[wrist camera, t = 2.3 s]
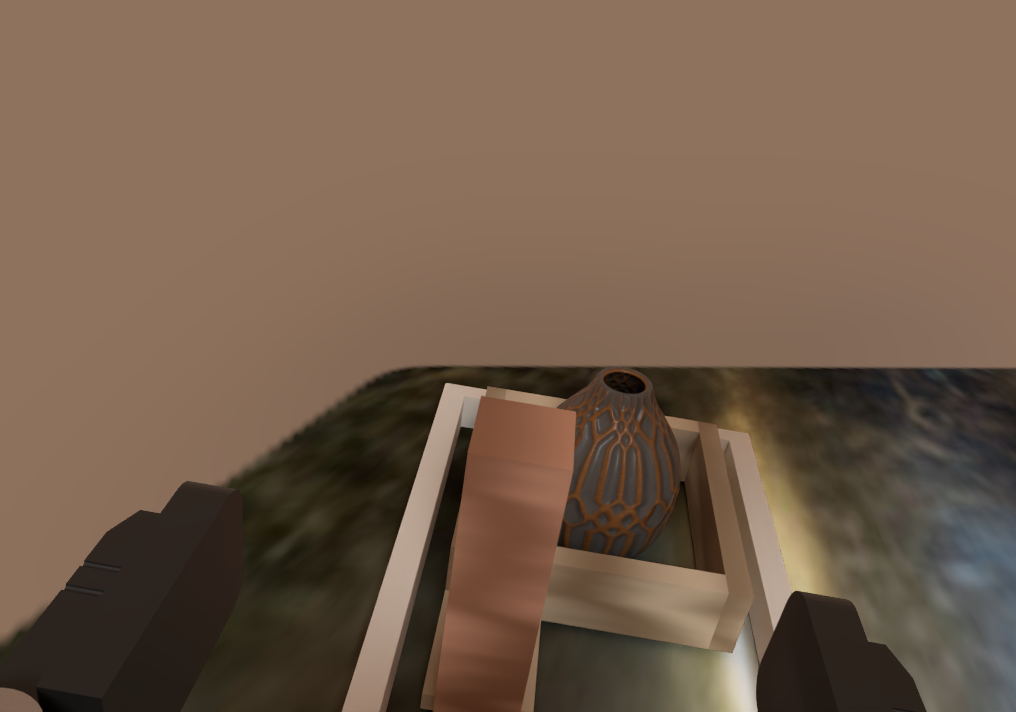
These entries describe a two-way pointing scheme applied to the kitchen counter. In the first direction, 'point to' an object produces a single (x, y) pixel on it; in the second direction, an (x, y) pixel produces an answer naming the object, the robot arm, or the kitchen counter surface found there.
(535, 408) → the square wooden tray
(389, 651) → the rail lane
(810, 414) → the kitchen counter surface
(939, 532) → the kitchen counter surface
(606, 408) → the vase
